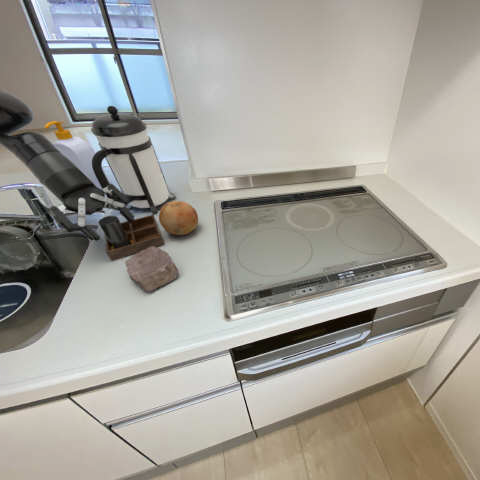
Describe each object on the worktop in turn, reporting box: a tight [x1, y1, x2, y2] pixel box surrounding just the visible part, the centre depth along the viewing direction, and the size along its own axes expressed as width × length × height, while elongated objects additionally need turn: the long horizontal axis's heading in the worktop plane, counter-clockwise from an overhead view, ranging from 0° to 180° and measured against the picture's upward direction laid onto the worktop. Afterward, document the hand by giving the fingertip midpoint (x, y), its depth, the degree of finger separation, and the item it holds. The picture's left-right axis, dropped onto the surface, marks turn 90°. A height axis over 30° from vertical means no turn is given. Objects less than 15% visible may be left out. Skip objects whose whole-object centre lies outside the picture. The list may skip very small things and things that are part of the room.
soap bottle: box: [44, 120, 111, 189], centre depth 85 cm, size 9×7×23 cm
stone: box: [124, 246, 179, 292], centre depth 62 cm, size 12×9×5 cm
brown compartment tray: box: [103, 214, 166, 262], centre depth 72 cm, size 12×12×3 cm
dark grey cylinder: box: [98, 215, 132, 249], centre depth 66 cm, size 4×4×9 cm
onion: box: [158, 200, 199, 236], centre depth 73 cm, size 10×10×10 cm
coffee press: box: [90, 105, 176, 215], centre depth 77 cm, size 17×16×30 cm
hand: (116, 230), depth 64 cm, fingers open, 8 cm apart
